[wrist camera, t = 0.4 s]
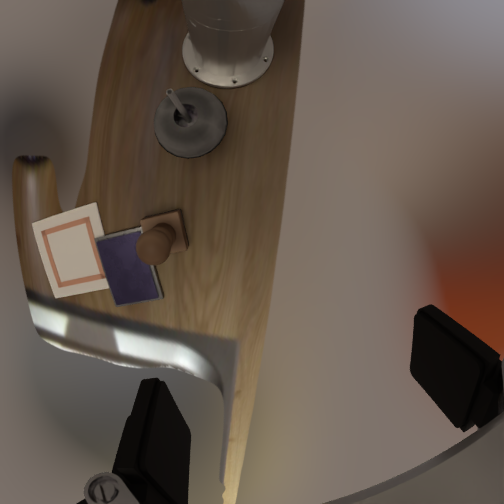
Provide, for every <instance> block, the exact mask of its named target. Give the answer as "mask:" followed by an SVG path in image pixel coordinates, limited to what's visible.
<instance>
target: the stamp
mask: <svg viewBox="0 0 504 504" xmlns="http://www.w3.org/2000/svg"><path fill="white" fill-rule="evenodd" d="M140 222H141V226H142V230H143V233H142V234H141V235H140V237H139V238H138V240H137V243H136V252H137V255H138V257H139V258H140V260H141V261H142V262H144V263H145V264H148V265H159V264H161V263H163V262H164V261H165V260H166V259H167V258H168V257H169V254H172V253H176V252H181V251H186V250H187V248H188V246H189V243H188V238H187V234H186V230H185V226H184V221H183V217H182V212H181V209H177V210H173V211H168V212H164V213H160V214H156V215H151V216H147V217H145V218H143V219H142V220H140Z"/></svg>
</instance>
